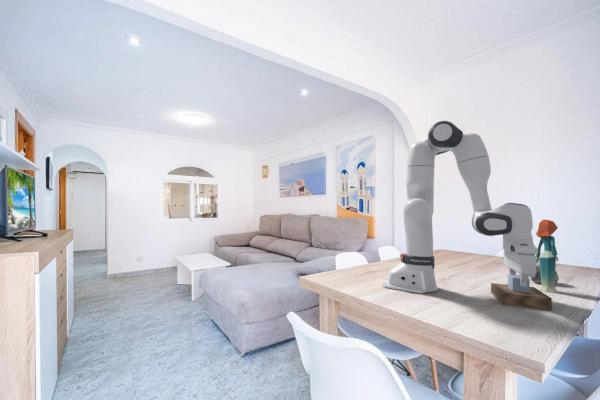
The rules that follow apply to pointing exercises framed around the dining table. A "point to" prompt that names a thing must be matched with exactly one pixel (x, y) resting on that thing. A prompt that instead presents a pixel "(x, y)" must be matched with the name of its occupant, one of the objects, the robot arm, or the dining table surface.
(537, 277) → the stone
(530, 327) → the dining table surface
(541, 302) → the walnut pedestal
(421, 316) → the dining table surface
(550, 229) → the sculpture
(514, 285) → the slate block
